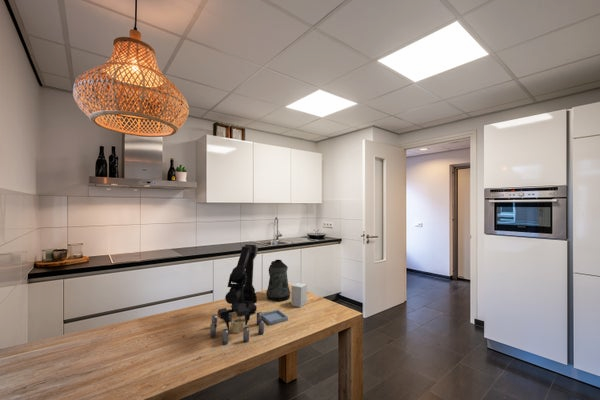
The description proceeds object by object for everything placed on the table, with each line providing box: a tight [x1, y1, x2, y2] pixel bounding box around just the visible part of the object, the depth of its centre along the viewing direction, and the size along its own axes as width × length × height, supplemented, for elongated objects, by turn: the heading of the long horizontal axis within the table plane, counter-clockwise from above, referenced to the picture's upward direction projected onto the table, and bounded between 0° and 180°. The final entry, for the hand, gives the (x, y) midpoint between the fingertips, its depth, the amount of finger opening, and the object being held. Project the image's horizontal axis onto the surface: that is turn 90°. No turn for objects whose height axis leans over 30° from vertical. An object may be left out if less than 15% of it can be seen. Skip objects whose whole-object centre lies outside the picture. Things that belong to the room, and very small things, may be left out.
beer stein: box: [265, 259, 291, 303], centre depth 182 cm, size 16×19×25 cm
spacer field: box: [209, 308, 265, 346], centre depth 135 cm, size 27×27×6 cm
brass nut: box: [230, 317, 244, 334], centre depth 135 cm, size 6×5×5 cm
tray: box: [261, 309, 289, 326], centre depth 148 cm, size 11×11×2 cm
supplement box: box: [290, 282, 308, 308], centre depth 169 cm, size 7×7×13 cm
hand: (237, 327), depth 135 cm, fingers open, 9 cm apart
